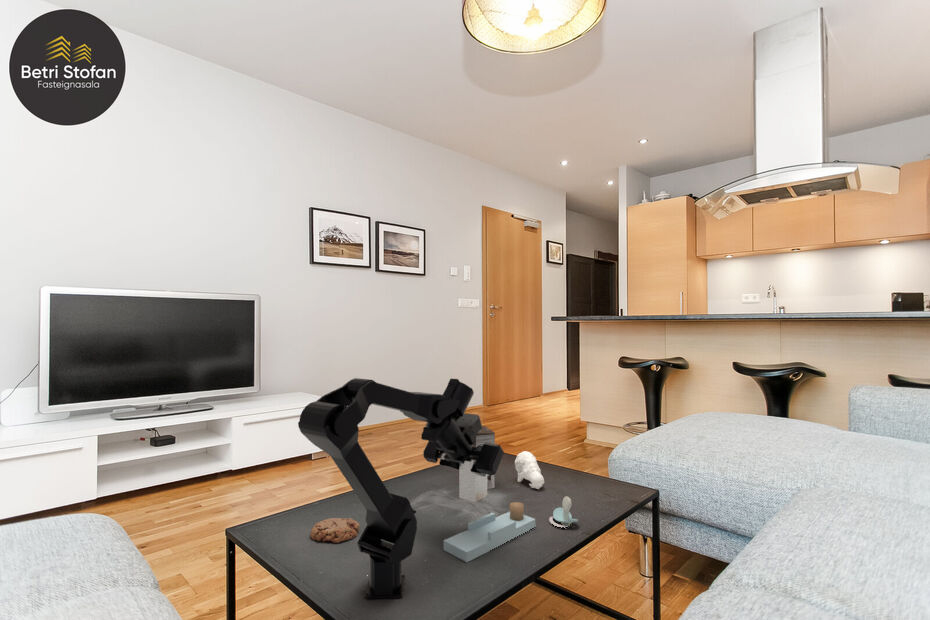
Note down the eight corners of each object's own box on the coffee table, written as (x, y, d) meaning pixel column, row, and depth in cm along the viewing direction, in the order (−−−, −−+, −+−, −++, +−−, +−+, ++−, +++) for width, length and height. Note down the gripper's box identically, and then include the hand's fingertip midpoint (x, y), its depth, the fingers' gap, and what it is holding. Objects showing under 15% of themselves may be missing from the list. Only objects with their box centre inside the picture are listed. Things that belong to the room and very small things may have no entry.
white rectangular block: (475, 502, 104) (475, 457, 104) (459, 498, 106) (459, 454, 106) (489, 494, 108) (489, 451, 109) (473, 490, 111) (473, 448, 111)
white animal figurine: (532, 448, 142) (551, 463, 131) (531, 475, 143) (550, 492, 132) (513, 450, 140) (530, 465, 129) (512, 477, 141) (529, 495, 130)
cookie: (309, 530, 107) (309, 517, 107) (356, 522, 111) (356, 510, 111) (311, 549, 98) (311, 535, 98) (362, 541, 102) (362, 527, 102)
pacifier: (557, 532, 105) (581, 528, 107) (556, 505, 105) (580, 501, 107) (544, 519, 112) (567, 515, 114) (543, 493, 113) (565, 490, 114)
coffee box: (464, 480, 140) (464, 426, 140) (484, 478, 141) (484, 424, 142) (474, 490, 131) (474, 433, 131) (495, 488, 133) (495, 431, 133)
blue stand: (466, 562, 92) (466, 537, 92) (443, 549, 97) (443, 525, 97) (535, 527, 107) (535, 506, 107) (512, 518, 112) (512, 497, 112)
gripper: (499, 408, 99) (523, 448, 108) (430, 400, 109) (458, 437, 118) (479, 454, 92) (507, 493, 101) (408, 440, 103) (439, 477, 112)
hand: (476, 472), depth 108 cm, fingers closed on white rectangular block, 4 cm apart
